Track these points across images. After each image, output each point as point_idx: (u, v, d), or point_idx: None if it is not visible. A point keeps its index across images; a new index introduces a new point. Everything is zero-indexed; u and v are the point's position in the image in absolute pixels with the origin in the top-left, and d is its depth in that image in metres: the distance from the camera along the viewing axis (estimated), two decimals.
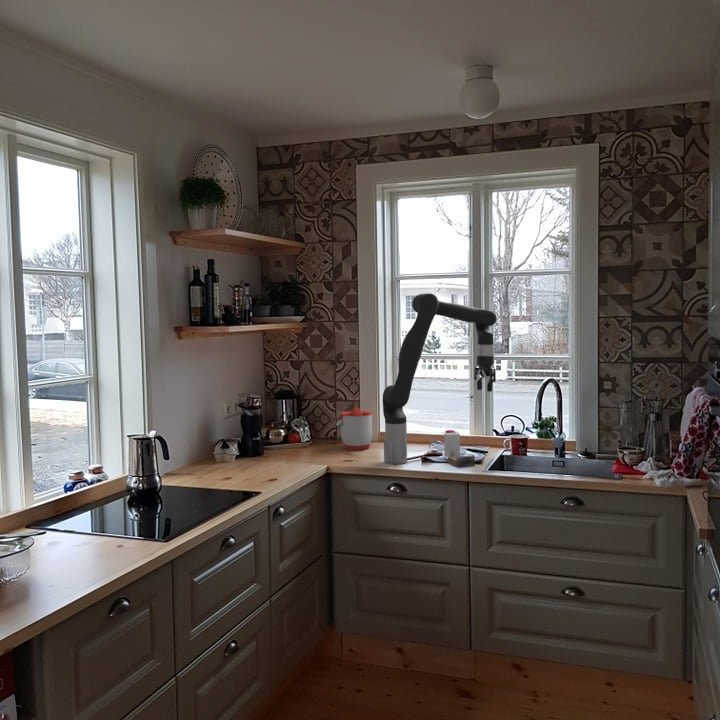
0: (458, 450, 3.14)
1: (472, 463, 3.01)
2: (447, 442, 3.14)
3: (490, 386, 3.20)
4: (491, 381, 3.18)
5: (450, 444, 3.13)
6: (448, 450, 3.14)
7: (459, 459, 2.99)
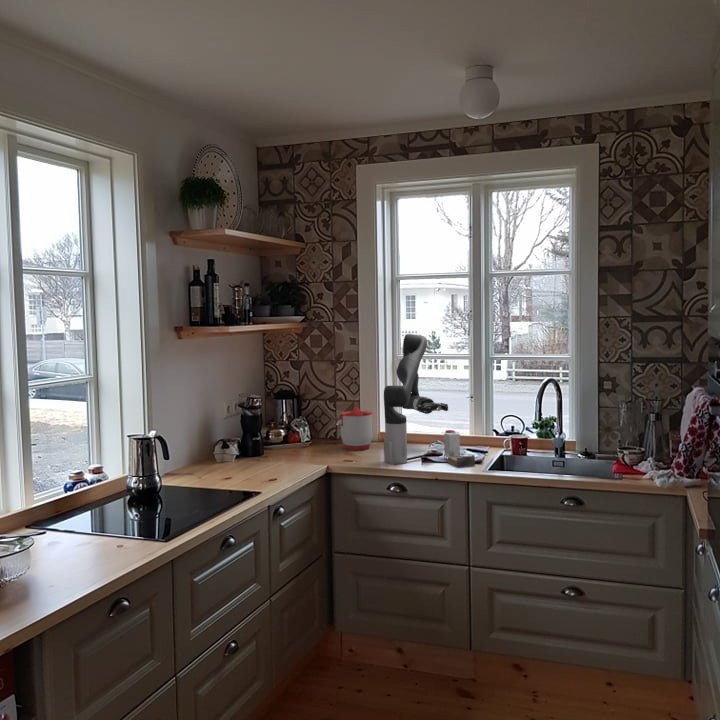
0: (458, 450, 3.14)
1: (472, 463, 3.01)
2: (447, 442, 3.14)
3: None
4: (447, 405, 3.33)
5: (450, 444, 3.13)
6: (448, 450, 3.14)
7: (459, 459, 2.99)
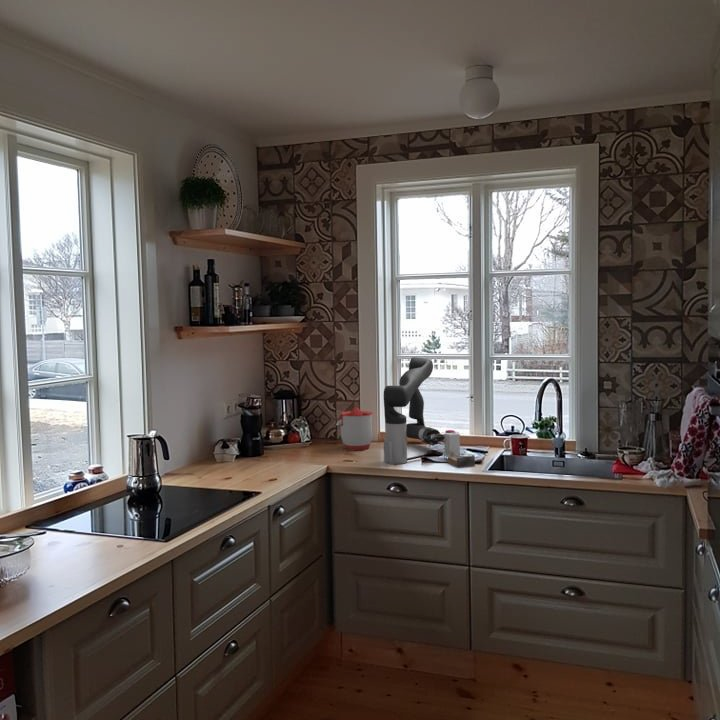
0: (458, 450, 3.14)
1: (472, 463, 3.01)
2: (447, 442, 3.14)
3: None
4: None
5: (450, 444, 3.13)
6: (448, 450, 3.14)
7: (459, 459, 2.99)
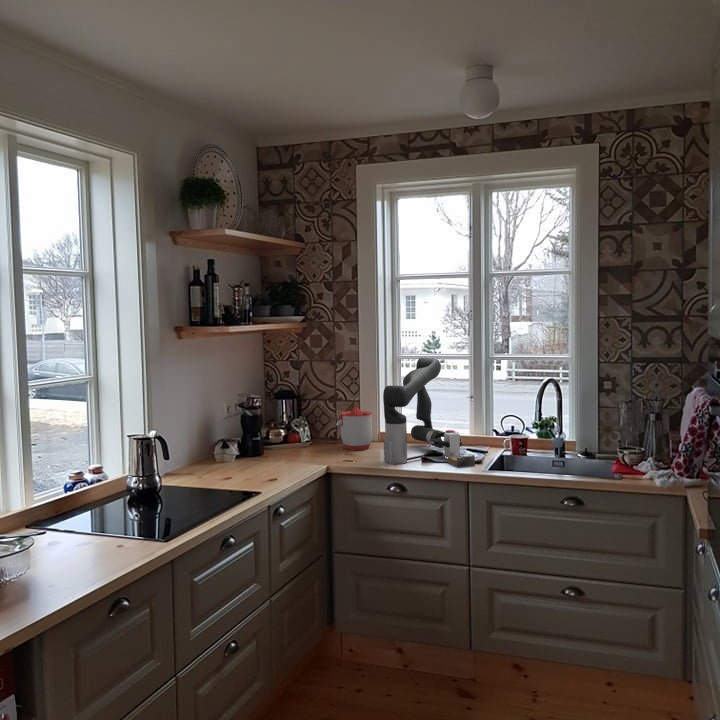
0: (458, 450, 3.14)
1: (472, 463, 3.01)
2: None
3: None
4: None
5: (450, 444, 3.13)
6: (448, 450, 3.14)
7: (459, 459, 2.99)
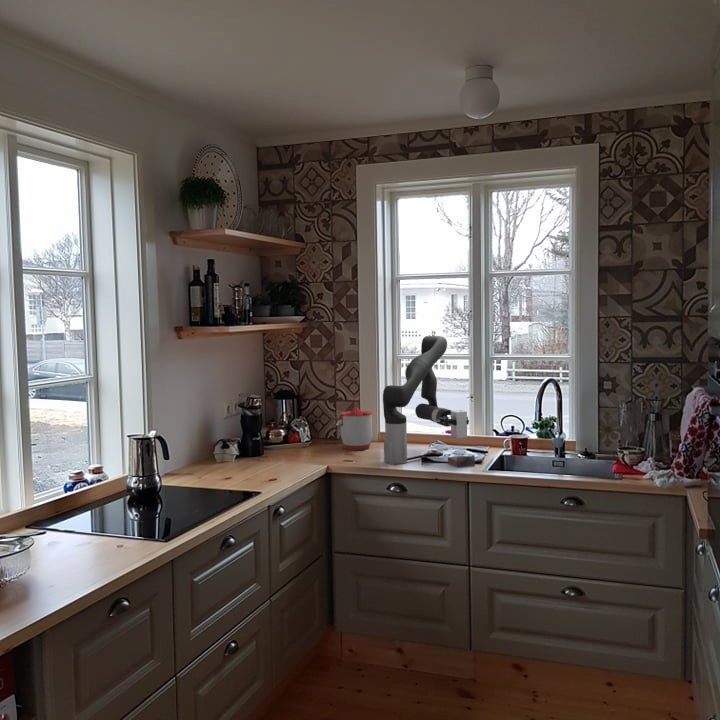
0: (465, 428, 3.04)
1: (472, 463, 3.01)
2: None
3: None
4: None
5: (457, 422, 3.02)
6: (455, 428, 3.03)
7: (459, 459, 2.99)
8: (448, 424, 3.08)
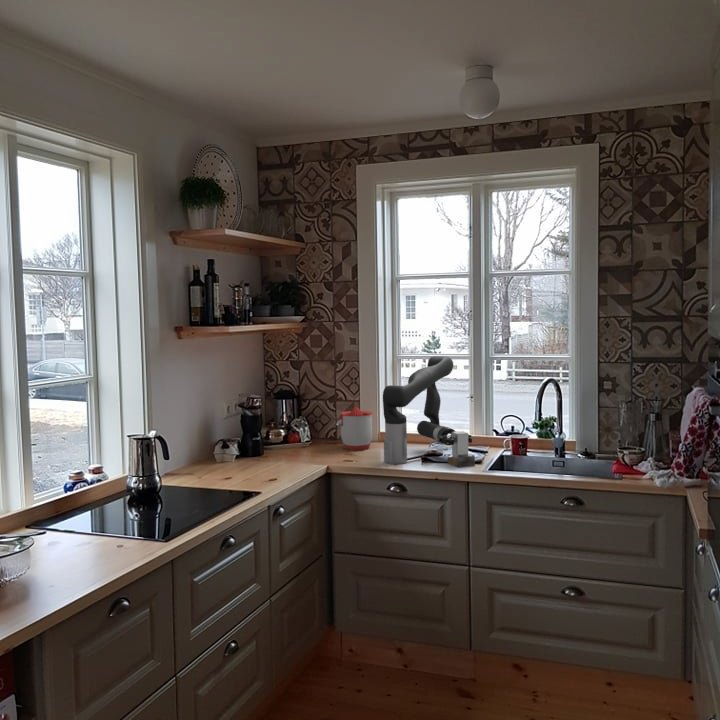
0: (466, 449, 3.03)
1: (472, 463, 3.01)
2: (455, 441, 3.03)
3: None
4: None
5: (458, 443, 3.01)
6: (456, 450, 3.02)
7: (459, 459, 2.99)
8: None
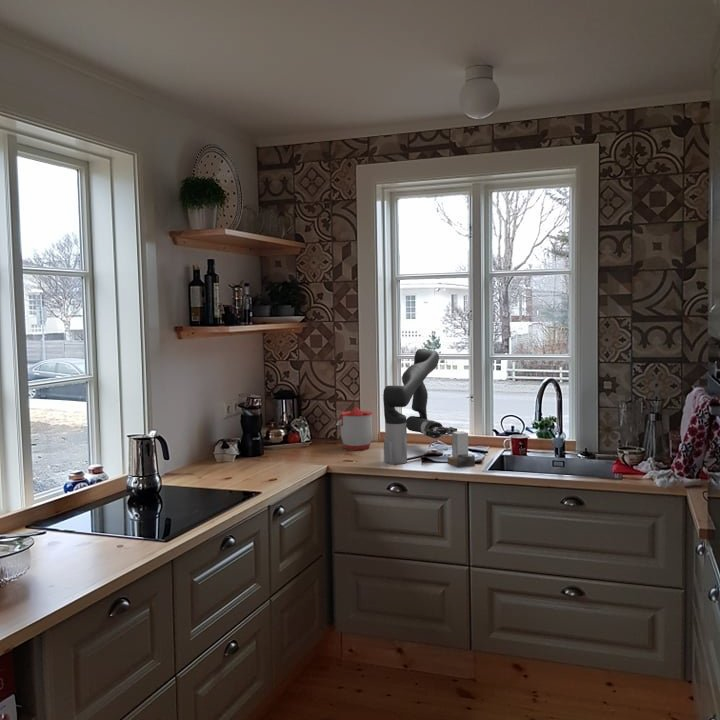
0: (466, 449, 3.03)
1: (472, 463, 3.01)
2: (455, 441, 3.03)
3: None
4: None
5: (458, 443, 3.01)
6: (456, 450, 3.02)
7: (459, 459, 2.99)
8: None
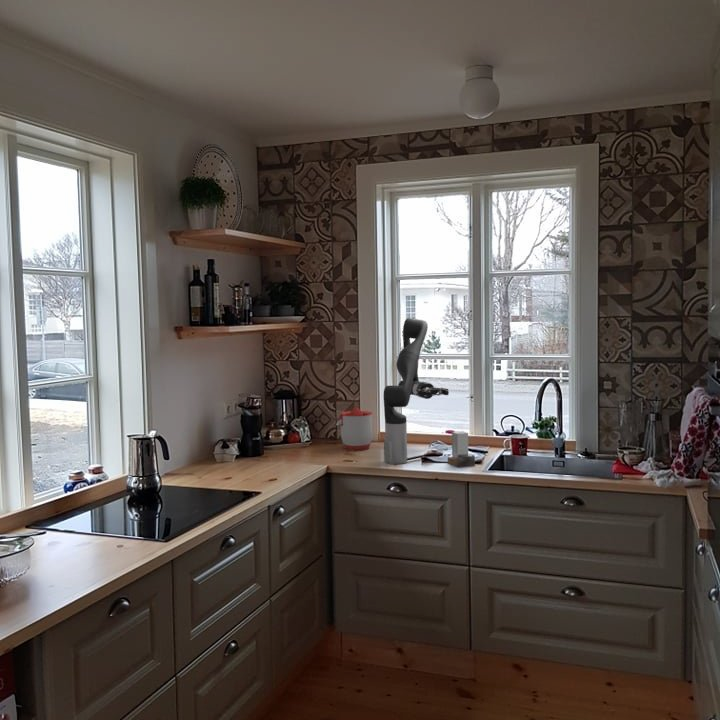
0: (466, 449, 3.03)
1: (472, 463, 3.01)
2: (455, 441, 3.03)
3: None
4: None
5: (458, 443, 3.01)
6: (456, 450, 3.02)
7: (459, 459, 2.99)
8: None
